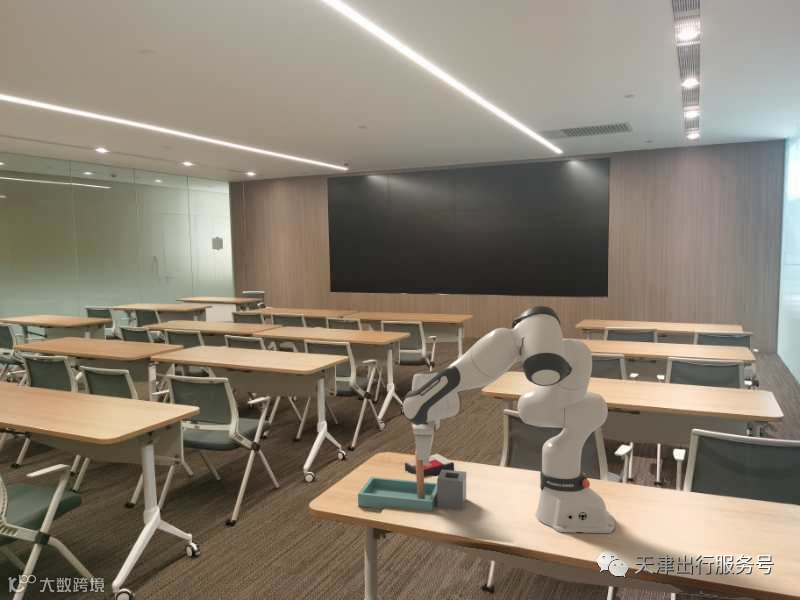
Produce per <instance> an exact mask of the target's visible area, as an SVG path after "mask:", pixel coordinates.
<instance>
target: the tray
mask: <svg viewBox="0 0 800 600" xmlns="http://www.w3.org/2000/svg"><path fill="white" fill-rule="evenodd" d="M424 489H425V499H418V498H417V480H408V479H397V478H389V477H386V478H385V477H378V476H377V477H376V476H370V477H369V479H368V480H367V481H366V482H365V485H364V486H363V487H362V488H361V489H360V491H359V492H358V493H357V507H364V508H372V509H381V510H383V509H385V508H386V507H389V508H399V509H407V510H416V511H427V512H433V511H434V508H435V506H436V505H437V482H430V481H429V482H428V481H424Z"/></svg>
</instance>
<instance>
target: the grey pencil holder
mask: <svg viewBox="0 0 800 600" xmlns="http://www.w3.org/2000/svg"><path fill="white" fill-rule="evenodd" d="M436 479H437V480H436V483H437V501H436V505H437V506H436V508H439V509H447V510H448V509H450V510H459V511H464V508H465V504H466V501H467V471H462V470H460V471H459V470H454V471H452V470H441V472H440V474H439V475H438V476H437V478H436Z"/></svg>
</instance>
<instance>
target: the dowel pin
mask: <svg viewBox="0 0 800 600" xmlns="http://www.w3.org/2000/svg"><path fill="white" fill-rule="evenodd" d="M414 456H415V458H414V460H415V461H416V474H415V477H416V478H415V479H416V481H417V498H418V499H425V489H424V482H425V476H424V470H423V461H422V460H418V458H417V452H416V450H415V451H414Z"/></svg>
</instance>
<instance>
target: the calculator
mask: <svg viewBox="0 0 800 600" xmlns="http://www.w3.org/2000/svg"><path fill="white" fill-rule="evenodd" d="M404 470H405V471H406V470H407V471H408V472H407V471H406V472H407V473H409V474H410V473H411V475H416V461H415V459H412V460H408V461H406V462H405V463H404ZM423 470H424V477H427V476H431V477H438V476H439V474H440V472H441V470H452V471H455V463H454V462H453V461H451V460H450V459H448V458H446V457H445V456H442V455H441V454H439V453H435V454H432V455H431V454H430V458H429V462H428V465H427V466H425V465H423ZM437 475H438V476H437Z"/></svg>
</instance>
